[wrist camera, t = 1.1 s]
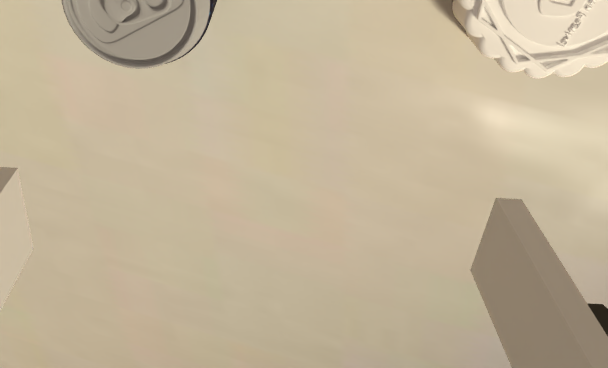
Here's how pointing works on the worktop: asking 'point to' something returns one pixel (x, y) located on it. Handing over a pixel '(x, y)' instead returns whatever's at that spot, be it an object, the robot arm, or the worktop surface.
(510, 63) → the mooncake
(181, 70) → the worktop surface
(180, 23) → the beverage can
